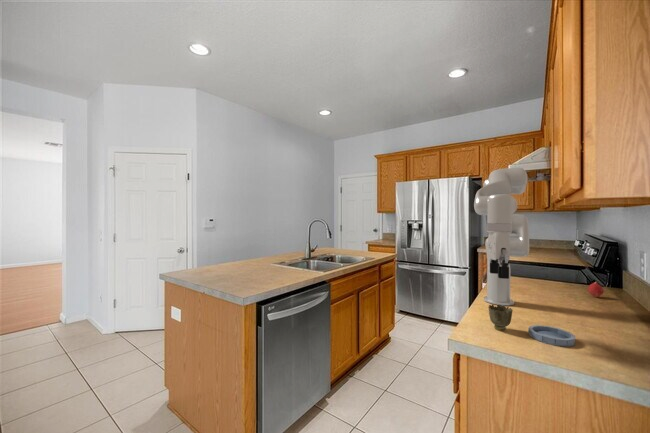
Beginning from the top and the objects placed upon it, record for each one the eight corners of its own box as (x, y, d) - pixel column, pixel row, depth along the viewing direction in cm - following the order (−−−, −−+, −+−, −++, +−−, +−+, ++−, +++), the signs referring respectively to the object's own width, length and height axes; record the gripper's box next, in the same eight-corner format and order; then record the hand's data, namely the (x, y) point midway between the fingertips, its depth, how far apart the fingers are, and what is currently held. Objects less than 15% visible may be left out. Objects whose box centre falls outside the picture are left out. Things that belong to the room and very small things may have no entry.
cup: (493, 332, 99) (493, 310, 99) (484, 324, 106) (484, 303, 106) (516, 334, 98) (516, 311, 98) (506, 326, 105) (506, 304, 105)
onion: (584, 296, 146) (584, 280, 146) (593, 295, 147) (593, 280, 147) (597, 299, 141) (597, 283, 141) (606, 298, 142) (606, 282, 142)
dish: (522, 329, 102) (522, 323, 102) (561, 333, 99) (562, 327, 99) (539, 344, 90) (539, 337, 90) (583, 348, 87) (583, 341, 87)
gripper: (481, 227, 112) (480, 271, 112) (494, 228, 95) (494, 279, 95) (502, 228, 110) (502, 272, 110) (520, 229, 93) (520, 281, 93)
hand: (498, 275), depth 102 cm, fingers open, 9 cm apart
